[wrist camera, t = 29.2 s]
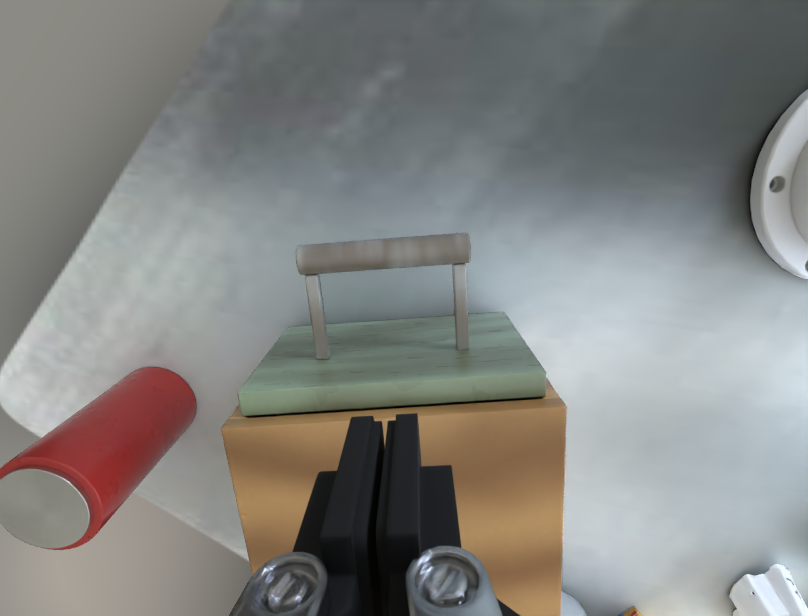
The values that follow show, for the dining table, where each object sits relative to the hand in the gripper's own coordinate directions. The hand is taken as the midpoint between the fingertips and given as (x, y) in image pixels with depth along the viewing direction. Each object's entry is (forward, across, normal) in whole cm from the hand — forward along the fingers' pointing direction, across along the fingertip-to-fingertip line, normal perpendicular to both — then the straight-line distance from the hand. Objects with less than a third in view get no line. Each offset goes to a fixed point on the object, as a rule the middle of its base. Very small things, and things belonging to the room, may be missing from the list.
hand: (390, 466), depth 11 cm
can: (+18, +17, +7) cm, 25 cm away
